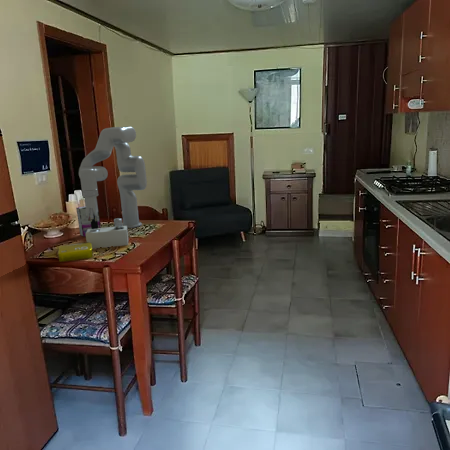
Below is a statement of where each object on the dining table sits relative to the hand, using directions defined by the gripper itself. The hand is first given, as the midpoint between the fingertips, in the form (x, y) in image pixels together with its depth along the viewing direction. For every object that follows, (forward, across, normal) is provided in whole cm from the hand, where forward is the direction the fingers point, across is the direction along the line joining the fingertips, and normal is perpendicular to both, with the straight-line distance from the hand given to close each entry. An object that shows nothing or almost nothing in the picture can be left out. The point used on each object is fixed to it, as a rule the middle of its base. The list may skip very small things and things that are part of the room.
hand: (95, 228), depth 212 cm
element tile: (+9, +16, -8) cm, 20 cm away
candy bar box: (+10, -27, -6) cm, 30 cm away
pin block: (+9, +1, +6) cm, 11 cm away
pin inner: (+2, 0, +12) cm, 12 cm away
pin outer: (+7, +1, 0) cm, 7 cm away
